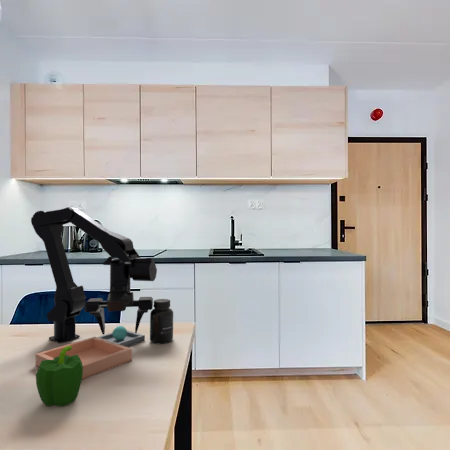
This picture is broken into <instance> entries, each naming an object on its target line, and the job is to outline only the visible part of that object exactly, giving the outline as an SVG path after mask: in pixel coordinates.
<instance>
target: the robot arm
mask: <svg viewBox="0 0 450 450" xmlns="http://www.w3.org/2000/svg"><path fill="white" fill-rule="evenodd" d="M30 223H31V226H32V228H33V230H34V233H35V234H36V235H37V236H38V237H39V238H40V239H41V240H42V241H43V243H44V247H45V251H46V254H47V259H48V261H49V266H50V269H51V273H52V276H53V280H54V284H55V292H54V297H53V299H54V307H52V308H51V310H50V311H48V313H47V314H46V317H47V320H48V322H51V323H52V322H53V336H49V337H48V340H51V341H53V342H56V343H59V344H61V343H65V342H67V341H72V340H76V339H79V338H81V336H80V335H79V334H76V316H80V314H81V312H82V310H83V308H84V313H89V315H90V316H92V315H93V316H94V318H95V319H96V321H97V322H98V326H99V329H100V331H101V334H102V335H106V334H105V332H106V324H105V308H107V311H108V312H110V313H111V312H112V313H113V312H115V311H116V312H124V311H126V310H127V309H126V308H134V307H135V308H137V311H136V319H135V329H134V332H135V333H138V331H139V327H140V323H141V320H142V318H143V316H144V314H146V313H148V312H149V311H152V310H153V309H154V298H153V297H152V296H140V297H139V298H138V299H135V300H134V292H133V291H132V292H131V279H132V281H135V282H154V281H155V280H156V278H157V272H158V271H157V270H158V269H157V264H156V262H155V258H154V257H152V256H151V257H141V256H140V254H139V253H138V252H137V250H136V249H135V248H134V243H133V240H132V239H130V238H129V237H126V236H124V235H122V234H119V233H118V232H114V231H111V230H109V229H107V228H106V227H105V226H104V225H102V224H100V223H99V222H97V221H96V220H94V219H93V218H91V217H90V216H89V215H87V214H86V213H84V212H83V211H81V210H80V209H79V208H77V207H71V206H70V207H65V208H61V209H54V210H37V211H35V212H34V213H33V215H32V217H31V218H30ZM69 223H71V224H72V225H74V227H77V228H78V229H79V230H81V231H82V232H84V233H85V234H86V235H89V237H91V238H92V239H94V241H97V242H98V244H100V247H101V248H102V249H103V250H104V251H105V252H106V253H107V255H109V256H108V257H107V259H105V261H103V262H102V265H104V266H109V267H110V268H109V272H110V273H109V292H108V295H107V299H106V300H103V298H101V297H96V298H93V297H92V298H89V299H88V300H87V301H86V299H87V298H88V297H87V295H86V294H85V291H84V289H85V288H84V286H83V285H77V284H76V283H75V281H74V278H73V274H72V271H71V268H70V264H69V260H68V257H67V252H66V250H65V247H64V242H63V240H62V235H63V232H64V225H67V224H69Z"/></svg>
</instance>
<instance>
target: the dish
mask: <svg viewBox="0 0 450 450" xmlns="http://www.w3.org/2000/svg"><path fill="white" fill-rule="evenodd" d="M97 337H98V336H93V337H89V338H85V339H82V340H78V341H75V342H71V343H69V344H65V345H61V346H58V347H55V348H51V349H47V350H44V351H41V352H37V353H35V367H36V368H37V369H38V368H39V366H40V364H41V361H44V360H53V359H54V358H55V357H58V356H60V352H61V351H62V349H63V348H65V347H66V346H71V347H72V349H71V350H70V351H67V352H66V353H65V355H68V356H73V355H78V356H79V358H80V360H81V362H82V365H83V376H82V381H84V380H86V379H89V378H91V377H94V376H97V375H99V374H102V373H103V372H106V371H108V370H112V369H114V368H116V367H119V366H121V365H124V364H126V363H127V364H128V363H129V362H131V361H133V348H130V347H129V346H128V347H125V346H122V345H119V344H116V343H113V342H110V341H107V340H104V339H100V338H97Z"/></svg>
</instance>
